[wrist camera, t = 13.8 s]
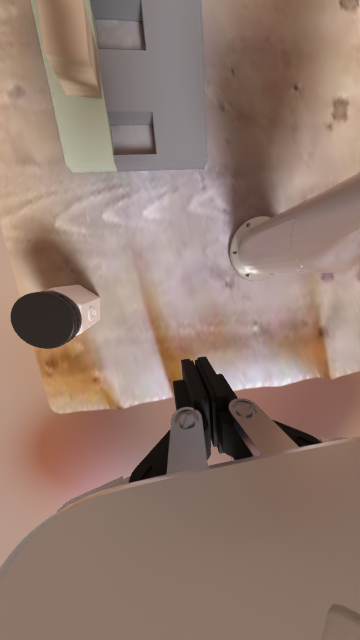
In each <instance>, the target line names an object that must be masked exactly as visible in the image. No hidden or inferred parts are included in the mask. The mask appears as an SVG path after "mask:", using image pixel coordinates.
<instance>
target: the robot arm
mask: <svg viewBox="0 0 360 640" xmlns="http://www.w3.org/2000/svg"><path fill="white" fill-rule="evenodd" d="M246 225H247V227H246ZM233 251H234V254H233ZM230 260H231V263H232V266H233V268H234V270H235V271H236V272H237V273H238V275H240V276H241V277H242V278H244V279H247V280H250V281H262V280H266V279H268V278H270V277H272V276H273V275H275V274H276V273H330V272H337V271H342V270H345V269H348V268H350V267H353V266H355V265H357V264H358V263H360V172H359V173H357V174H356V175H354V176H352V177H350V178H348V179H347V180H345V181H343V182H341V183H339V184H337V185H335V186H333V187H331V188H329V189H327V190H325V191H324V192H322V193H320V194H318V195H316V196H314V197H312V198H310V199H308V200H306V201H304V202H302V203H300V204H298V205H296V206H294V207H292V208H290V209H288V210H286V211H284V212H282V213H280V214H278V215H276V216H274V217H272V218H271V217H267V216H259V217H255V218H252V219H250V220H248V221H246V222H245V223H244V224H243V225H241V226H240V227H239V229H238V230H237V231H236V233H235V234H234V236H233V238H232V241H231V245H230ZM181 363H182V374H183V380H177V381H173V387H174V396H175V403H176V412H175V413H174V414H173V416H172V419H171V429H170V430H169V431H168V432H167V434H166V435H165V436H164V437H163V438H162V439H161V440H160V441H159V443H158V444H157V445H156V446H155V447H154V448H153V449H152V450H151V451H150V453H149V454H148V455H147V456H146V457H145V458H144V459H143V460H142V462H141V463H140V464H139V465H138V466H137V467H136V468H135V470H134V471H133V472H132V474H131V476H130V477H128V478H125V479H123V477H120V478H118V479H115V480H113V481H111V482H109V483H107V484H104V485H102V486H100V487H98V488H95V489H93V490H91V491H89V492H87V493H84V494H82V495H80V496H78V497H75V498H73V499H72V500H70V501H68V502H67V503H65V504H64V505H63V506H62V507H61V508H60V509H59V510H58V511H57V513H55V514H54V515H52V516H51V517H49V518H48V519H47V520H45V521H44V522H42V523H41V524H40V525H39V526H37V527H36V528H35V529H34V530H32V531H31V532H30V533H29V534H28V535H27V536H26V537H25V538H24V539H23V540H22V541H21V542H20V543H19V544H18V545H17V547H16V548H15V549H14V550H13V551H12V553H11V554H10V555H9V556H8V558H7V559H6V560H5V562H4V563H3V564H2V566H1V567H0V640H360V436H359V437H352V438H333V437H331V438H330V437H319V440H318V439H316V438H315V437H313V436H311V435H309V434H307V433H304V432H302V431H299V430H297V429H294V428H292V427H289V426H287V425H284V424H282V423H279V422H277V421H274V420H272V419H271V418H270V417H269V416H268V415H267V414H266V413H265V412H264V411H263V410H262V409H260V407H259V406H258V405H257V404H255V403H254V402H253V401H250V400H248V399H243V398H237V396H236V395H235V393H234V392H233V390H232V389H231V387H230V386H229V384H228V382H227V381H226V379H225V378H224V376H223V375H222V374H216V373H215V371H214V369H213V368H212V366H211V364H210V363H209V361H208V359H207V358H206V357H199V358H197V360H195V365H194V362H193V361H190V359H184V360H181ZM211 440H212V444H213V446H214V447H215V446H217V448H218V451H219V453H226V454H227V455H229V456H230V461H229V462H225V463H220V464H214V465H210V466H208V463H207V460H208V458H209V457H210V455H211V449H210V447H211Z"/></svg>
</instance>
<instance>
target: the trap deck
mask: <svg viewBox="0 0 360 640" xmlns="http://www.w3.org/2000/svg"><path fill="white" fill-rule="evenodd" d="M83 2H84V5H85V9H86V12H87V16H88V19H89V23H90V26H91V30H92V33H93V37H94V41H95V44H96V48H97V51H98V57H99V69H100V81H101V93H102V99H100V98H90V97H81V96H71V95H66V93H65V91H64V89H63V87H62V85H61V83H60V81H59V80H58V78H57V76H56V74H55V72H54V70H53V68H52V66H51V64H50V62H49V61H48V59H47V57H46V55H45V52H44V45H43V38H42V31H41V24H40V17H39V10H38V3H37V0H31V5H32V10H33V14H34V19H35V23H36V28H37V33H38V37H39V42H40V47H41V51H42V56H43V61H44V65H45V70H46V75H47V79H48V84H49V88H50V93H51V98H52V102H53V107H54V112H55V116H56V121H57V126H58V130H59V135H60V139H61V144H62V149H63V153H64V158H65V163H66V165H67V166H68V167H69V169H70V170H71V171H72V172H73V173H82V172H114V171H147V170H180V169H204V167H205V164H206V162H207V140H206V113H205V87H204V60H203V34H202V7H201V0H83ZM95 19H109V20H128V21H142V22H143V32H144V42H145V50H123V49H99V45H98V39H97V32H96V26H95ZM111 125H153V131H154V141H155V151H156V154H140V155H115V151H114V144H113V138H112V131H111Z"/></svg>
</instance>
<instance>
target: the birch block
mask: <svg viewBox="0 0 360 640" xmlns="http://www.w3.org/2000/svg"><path fill="white" fill-rule="evenodd" d="M37 3H38V10H39V17H40V24H41V31H42V38H43V45H44V52H45V55H46V57H47V59H48V61H49V62H50V64H51V66H52V68H53V70H54V72H55V74H56V76H57V78H58V80H59V81H60V83H61V85H62V87H63V89H64V91H65V93H66V95H71V96H81V97H90V98H100V99H102V93H101V81H100V69H99V57H98V51H97V48H96V44H95V41H94V37H93V33H92V30H91V26H90V23H89V19H88V16H87V12H86V9H85V5H84V2H83V0H37Z"/></svg>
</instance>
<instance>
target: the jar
mask: <svg viewBox="0 0 360 640" xmlns="http://www.w3.org/2000/svg"><path fill="white" fill-rule="evenodd" d="M99 319H100V297H98V296H97V295H95V294H94V293H92V292H90V291H89V290H87V289H86V288H84V287H82V286H81V285H70V286H62V287H54V288H50V289H48V290H46V291H42V292H35V293H30V294H27V295H24V296H22V297H21V298H20V299H18V300H17V301H16V303H15V304H14V306H13V308H12V311H11V323H12V326H13V328H14V330H15V332H16V333H17V334H18V336H19V337H20V338H21V339H23V340H24V341H25V342H27V343H28V344H30V345H32V346H35V347H38V348H44V349H51V348H56V347H59V346H62V345H64V344H65V343H67V342H69V341H70V340H71V339H73V338H74V337H75V336H76V335H79V334H81V333H82V332H84V331H85V330H86V329H88V328H89V327H90V326H92V325H93V324H94V323H95V322H97V321H98V320H99Z"/></svg>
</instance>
